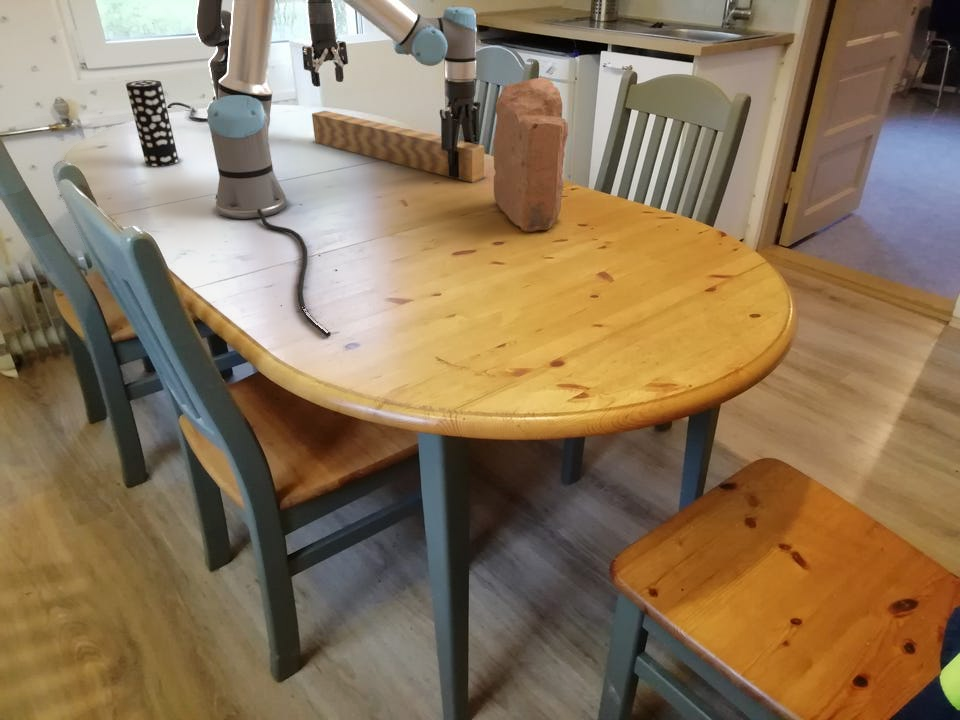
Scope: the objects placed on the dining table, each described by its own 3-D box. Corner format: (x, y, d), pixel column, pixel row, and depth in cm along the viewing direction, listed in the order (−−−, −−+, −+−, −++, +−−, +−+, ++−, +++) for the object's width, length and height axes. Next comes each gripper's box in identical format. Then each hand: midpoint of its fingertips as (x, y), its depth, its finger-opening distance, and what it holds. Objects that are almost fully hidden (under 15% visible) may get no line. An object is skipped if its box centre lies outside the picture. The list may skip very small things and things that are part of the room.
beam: (484, 177, 178) (484, 145, 174) (472, 182, 175) (472, 150, 171) (327, 138, 208) (324, 110, 204) (315, 142, 205) (311, 113, 200)
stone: (573, 229, 148) (583, 90, 134) (525, 235, 145) (529, 94, 131) (535, 200, 166) (540, 75, 151) (491, 204, 163) (492, 77, 148)
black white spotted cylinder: (184, 157, 190) (167, 80, 179) (169, 166, 183) (151, 87, 172) (155, 156, 190) (136, 79, 179) (139, 165, 183) (119, 86, 172)
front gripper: (470, 71, 175) (470, 163, 187) (424, 82, 163) (427, 179, 175) (494, 75, 171) (492, 168, 184) (448, 86, 159) (449, 185, 171)
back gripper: (332, 17, 193) (337, 78, 201) (291, 21, 183) (299, 86, 192) (350, 19, 189) (356, 81, 198) (310, 24, 179) (318, 89, 188)
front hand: (460, 173), depth 179 cm, fingers closed on beam, 5 cm apart
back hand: (328, 83), depth 195 cm, fingers open, 8 cm apart
